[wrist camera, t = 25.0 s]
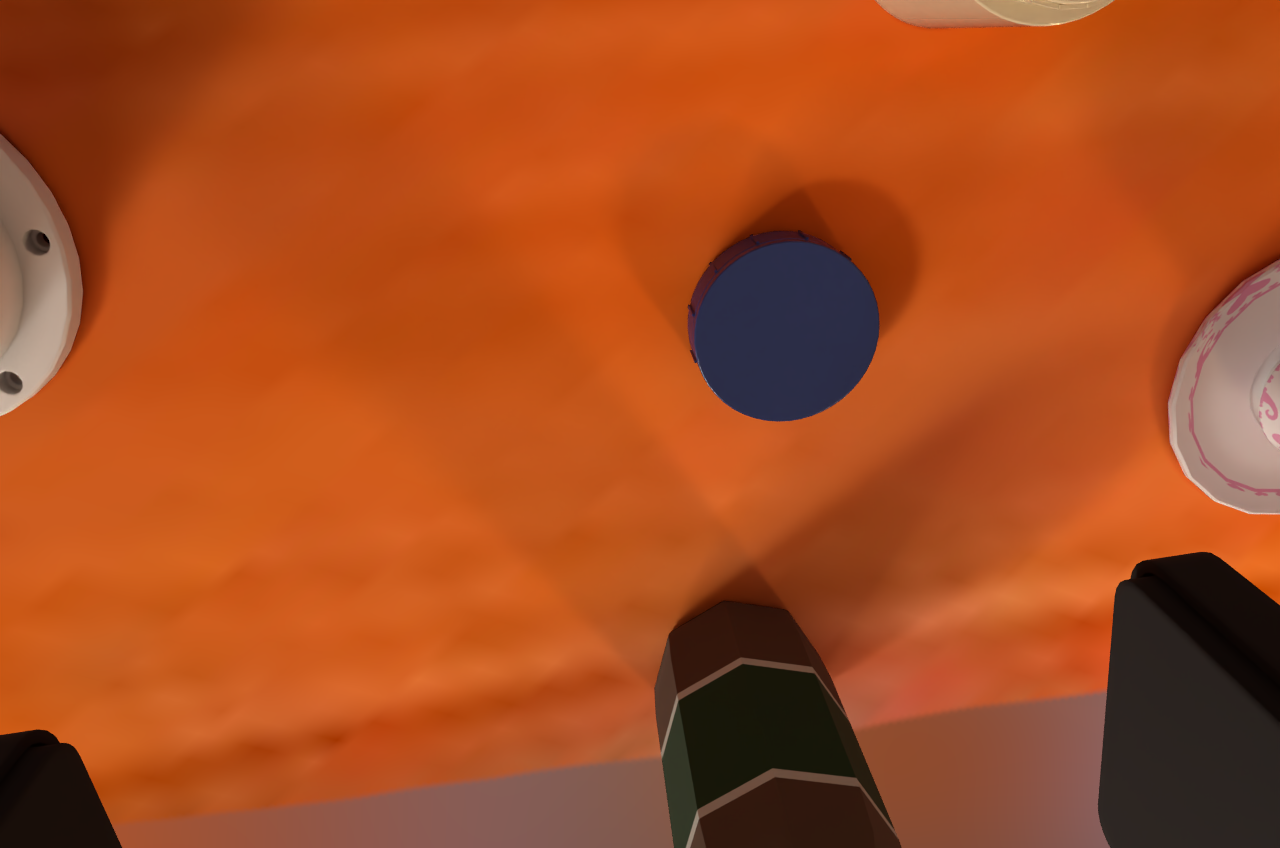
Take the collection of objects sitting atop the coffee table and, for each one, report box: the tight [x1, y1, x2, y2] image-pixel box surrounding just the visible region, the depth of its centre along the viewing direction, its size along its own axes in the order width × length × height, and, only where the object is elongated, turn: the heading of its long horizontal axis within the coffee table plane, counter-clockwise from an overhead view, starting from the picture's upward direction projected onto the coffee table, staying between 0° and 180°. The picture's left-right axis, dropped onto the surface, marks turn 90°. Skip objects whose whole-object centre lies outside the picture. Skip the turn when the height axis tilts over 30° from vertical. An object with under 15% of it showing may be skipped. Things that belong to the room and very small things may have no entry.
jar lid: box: [688, 230, 879, 421], centre depth 36 cm, size 7×7×2 cm
